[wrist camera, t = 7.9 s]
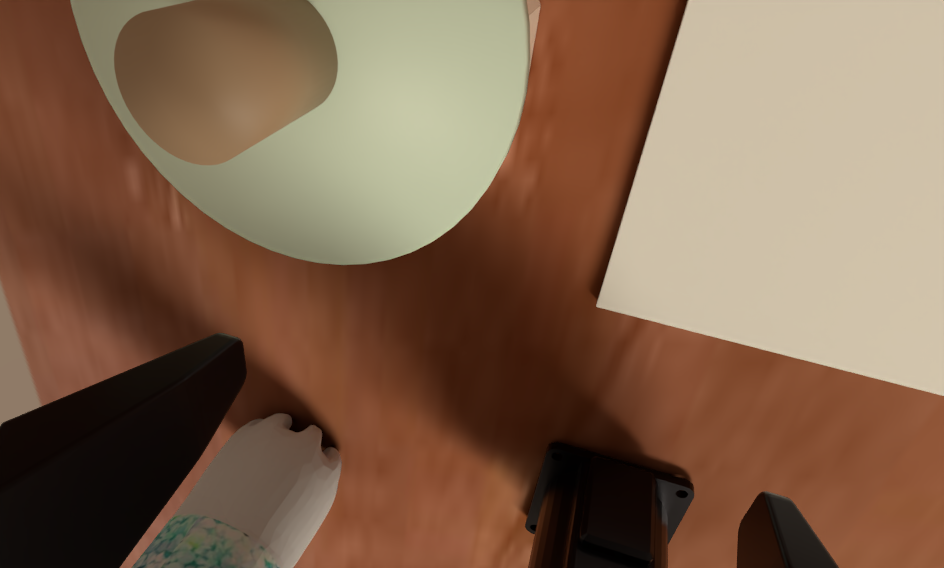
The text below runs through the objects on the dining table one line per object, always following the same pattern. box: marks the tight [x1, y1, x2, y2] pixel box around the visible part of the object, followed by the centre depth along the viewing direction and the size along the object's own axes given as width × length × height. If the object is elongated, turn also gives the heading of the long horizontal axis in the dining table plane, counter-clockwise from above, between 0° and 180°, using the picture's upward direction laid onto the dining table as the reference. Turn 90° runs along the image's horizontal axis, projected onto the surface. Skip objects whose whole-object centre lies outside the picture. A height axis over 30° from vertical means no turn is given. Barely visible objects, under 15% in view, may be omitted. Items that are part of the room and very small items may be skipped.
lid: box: [70, 0, 530, 265], centre depth 14 cm, size 13×13×5 cm
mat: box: [596, 0, 944, 396], centre depth 17 cm, size 14×14×1 cm
